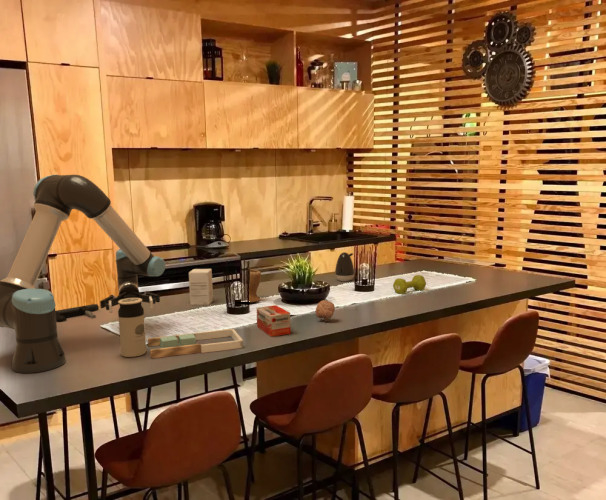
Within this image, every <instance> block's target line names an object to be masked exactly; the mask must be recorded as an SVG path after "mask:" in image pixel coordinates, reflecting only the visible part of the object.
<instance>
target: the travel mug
mask: <svg viewBox="0 0 606 500" xmlns="http://www.w3.org/2000/svg"><path fill="white" fill-rule="evenodd" d="M118 303H119V304H118V305H119V308H118V311H117V314H118V317H117V318H118V329H119V343H120V345H119V346H120V356H123V357H125V358H137V357H139V356H143V355H145V354H146V353H147V341H146V340H147V339H146V328H145V327H146V325H145V309H144V307H143V305H142V303H143V302H142V299H140V298H127V299H122V300H119V301H118Z"/></svg>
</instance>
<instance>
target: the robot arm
mask: <svg viewBox="0 0 606 500" xmlns="http://www.w3.org/2000/svg"><path fill="white" fill-rule="evenodd" d="M33 197H34V204H33V208H34V210H35V213H34V215H33V217H32V219H31V221H30V222H31V223H30V224H29V227H28V229H27V232H26V233H25V236H24V239H23V241H22V243H21V245H20V247H19V250H18V251H17V254H16V256H15V259H14V261H13V263H12V266H11V268H10V269H9V272H8V275H7V276H6V277H5V278H3V279H0V328H7V329H12V330H14V331H15V342H16V345H15V348H14V352H13V356H12V360H11V366H12V370H13V371H14V372H16V373H22V374H32V373H41V372H46V371H51V370H53V369H56V368H58V367H61V366H63V365H64V364H65V363H66V353H65V351H64V349H63V347H62V345H61V342H60V341H59V339H58V328H57V321H56V313H55V311H56V301H55V297H54V294H53V293H52V291H50V290H47V289H44V288H35V287H36V284H37V281H38V279H39V276H40V274H41V271H42V269H43V267H44V264H45V262H46V261H47V258H48V255H49V252H50V250H51V248H52V245H53V243H54V241H55V238H56V236H57V234H58V231H59V228H60V226H61V224H62V223H63V221H66V220H68V219H69V218H70V215H71V213H72V211H73V210H76V211H79V212H80V213H82V214H83V215H84V216H86V218H88V220H89V219H90V220H93V221H95V223H96V224H97V225H98V227H100V228H101V230H102V231H103V232H104V233H105V234H106V235H107V236H108V237H109V239H111V240H112V241H113V242H114V243H115V245H116V246H117V247H118V248H119V249H118V250H116V252H115V265H116V266H115V267H116V273H117V275H116V276H117V291H118V295H117V296H115V295H114V294H110V295H109V296H108V297H105V298H103V299H101V300H100V301H99V304H100V309H105V310H106V311H109V313H110V314H111V313H113V308H112V307H115V306H118V305H119V303H118V301H119V300H122V299H127V298H140V299H142V302H141V303H148V304H149V307H150V309H154V305H155V304H156V303H160V302H161V300H160V299H161V297H160V294H156V293H152V292H150V291H144V293H141V292H140V289H139V282H138V281H139V279H138V278H139V277H138V276H146V277H160V276H162V275H163V273H164V272H165V270H166V262H165V260H164V259H163V257H161V256H157V255H156V256H155V255H154V254H153V253H152V252H151V251H150V250H149V248H148V247H147V246H146V245H145V244H144V243H143V242H142V240H141V239H140V238H139V236H138V235H137V234H136V233H135V232H134V230H132V228H131V227H130V226H129V225H128V224H127V223H126V221H125V220H124V219H123V218H122V217H121V215H120V214H119V213H118V212H117V211H116V209H115V208H114V207H113V206H112V201H111V199H110V198H109V196H108V195H107V194H106V193H105V192H104V191H103V190H102V189H101V188H100V187H99V186H98V185H97V184H95V183H94V182H93V181H92V180H90V179H89V178H87V177H85V176H83V175H80V174H62V175H61V174H50V175H46V176H44V177H42V178H40V179H39V180H37V182H36V184H35V186H34V187H33Z"/></svg>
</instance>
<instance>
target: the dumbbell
mask: <svg viewBox="0 0 606 500" xmlns="http://www.w3.org/2000/svg"><path fill="white" fill-rule="evenodd" d="M426 285H427V282H426V279H425V277H424V275H419V274H416V275H414V276H413V277H412V279H411V280H410V281H406V279H404V278H396V279H395V280H394V282H393V284H392V288H393V290H394V292H395V293H396V294H398V295H405V294H406V293H407V291H408V289H410V288H411V289H412V288H413V290H415V291H423V290H424V289H425V287H426Z"/></svg>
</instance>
